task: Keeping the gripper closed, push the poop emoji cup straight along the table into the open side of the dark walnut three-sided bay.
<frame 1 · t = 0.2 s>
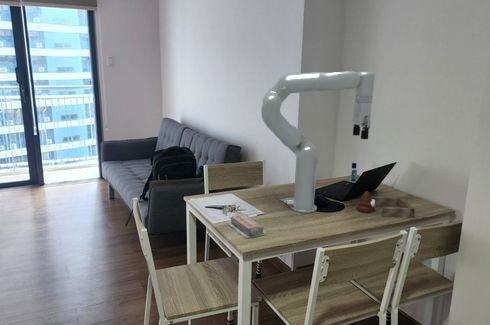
hand: (360, 137, 187), 36 cm above the table, tool pointing down, fingers open, 9 cm apart
poop emoji: (365, 210, 196), on the table
walnut bay: (390, 210, 196), on the table
packaged product: (246, 230, 169), on the table
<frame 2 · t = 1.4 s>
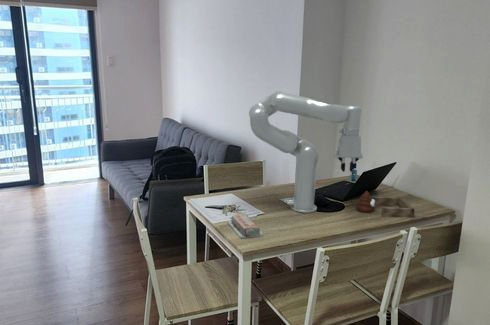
hand: (347, 170, 192), 19 cm above the table, tool pointing down, fingers open, 3 cm apart
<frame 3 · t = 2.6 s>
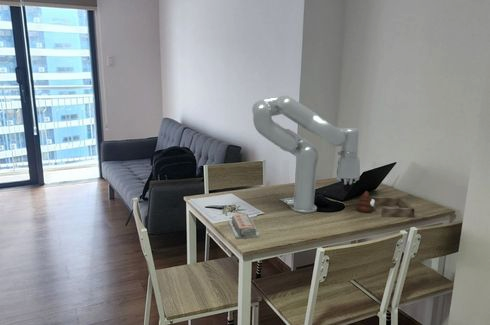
hand: (346, 191, 194), 9 cm above the table, tool pointing down, fingers closed
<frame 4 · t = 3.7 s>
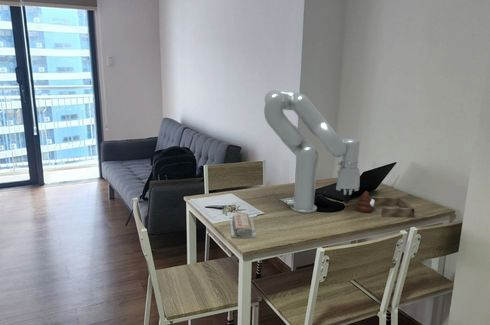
hand: (346, 201, 195), 4 cm above the table, tool pointing down, fingers closed
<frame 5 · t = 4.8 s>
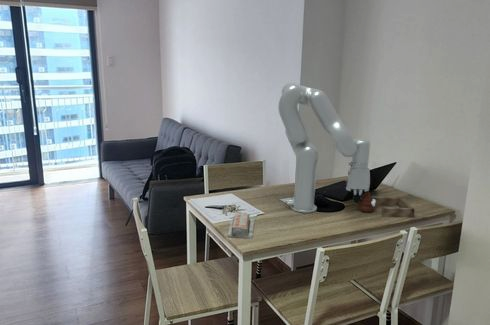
hand: (356, 202, 195), 4 cm above the table, tool pointing down, fingers closed
poop emoji: (365, 210, 196), on the table, touching gripper
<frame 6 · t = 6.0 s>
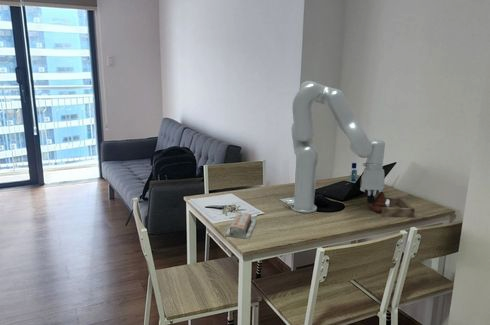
hand: (370, 202, 195), 4 cm above the table, tool pointing down, fingers closed
poop emoji: (379, 210, 197), on the table, touching gripper
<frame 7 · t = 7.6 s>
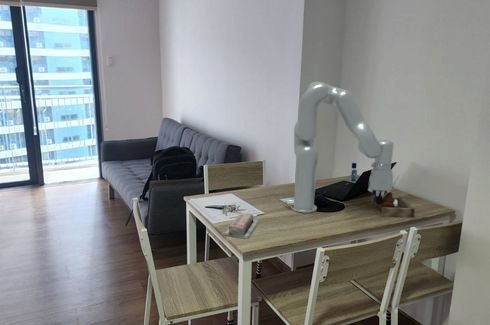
hand: (377, 203, 195), 3 cm above the table, tool pointing down, fingers closed
poop emoji: (387, 210, 197), on the table, touching gripper
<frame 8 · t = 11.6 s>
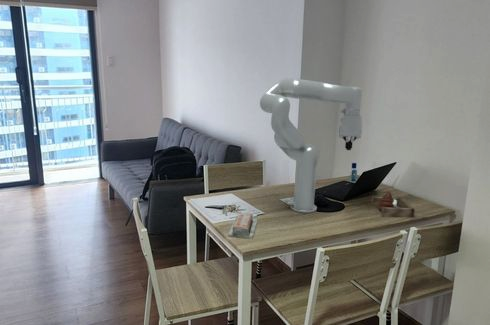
hand: (348, 149, 201), 27 cm above the table, tool pointing down, fingers closed
poop emoji: (386, 210, 197), on the table
at the end: poop emoji 1.5 cm off-centre on the walnut bay, point 0.0 cm above the walnut bay's base; poop emoji tilted 0°; the gripper is holding nothing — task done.
